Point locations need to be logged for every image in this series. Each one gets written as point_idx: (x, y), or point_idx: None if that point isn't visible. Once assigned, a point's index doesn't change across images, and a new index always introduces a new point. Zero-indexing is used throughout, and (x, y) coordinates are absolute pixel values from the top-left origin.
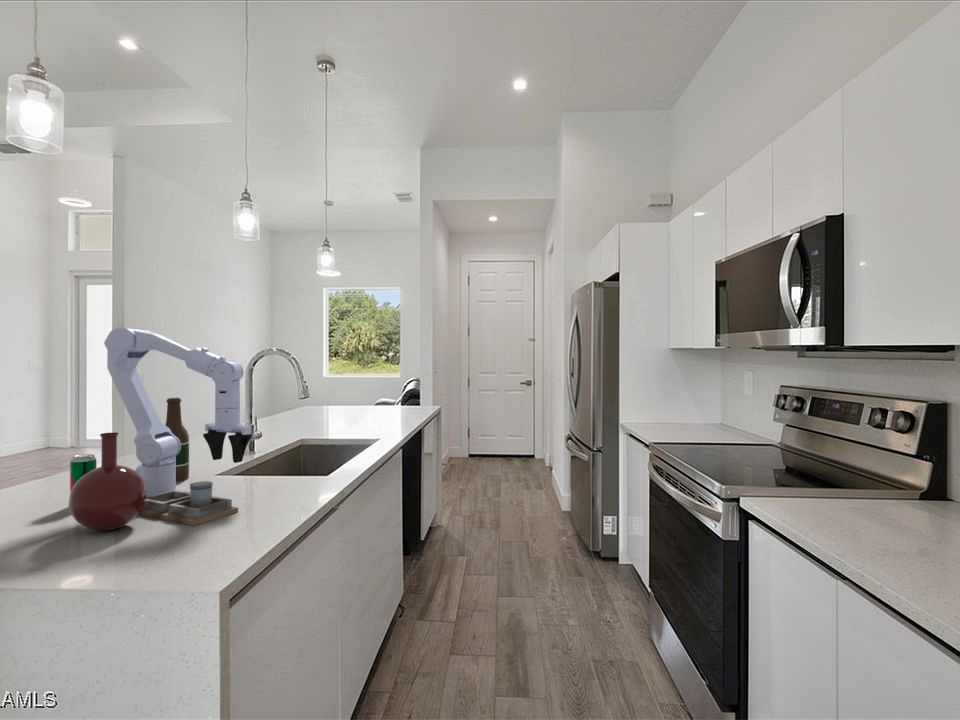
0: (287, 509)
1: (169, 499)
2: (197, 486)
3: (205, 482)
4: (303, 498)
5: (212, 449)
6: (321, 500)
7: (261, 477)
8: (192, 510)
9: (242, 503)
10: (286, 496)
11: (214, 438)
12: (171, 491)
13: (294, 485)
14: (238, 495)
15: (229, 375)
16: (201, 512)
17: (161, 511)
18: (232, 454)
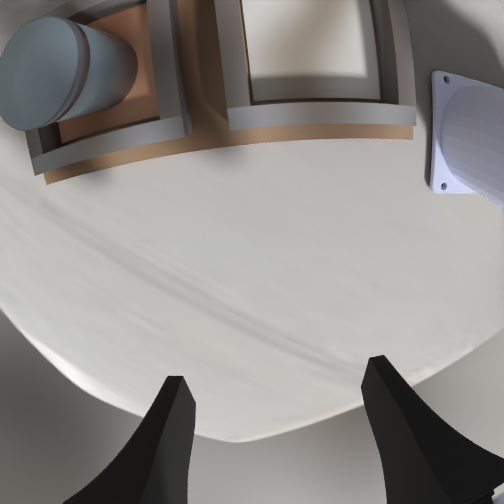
0: (11, 271)
1: (383, 83)
2: (8, 44)
3: (33, 97)
4: (77, 346)
5: (400, 411)
6: (42, 347)
7: None
8: None
9: (137, 243)
10: (121, 345)
11: (417, 490)
12: (403, 96)
13: (215, 404)
14: (253, 293)
15: None
16: None
17: None
18: (168, 417)
